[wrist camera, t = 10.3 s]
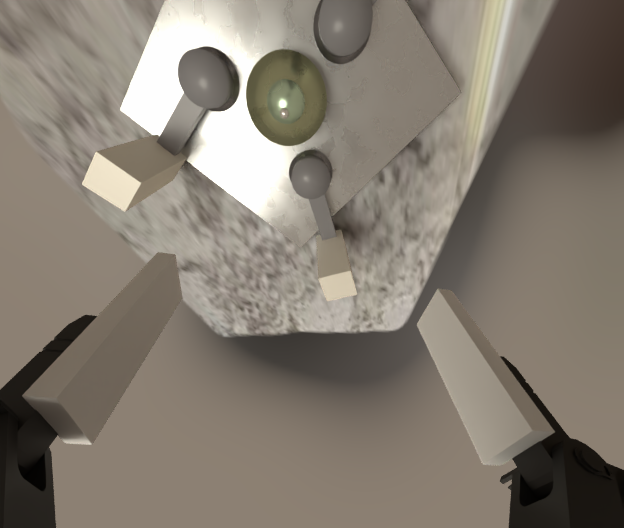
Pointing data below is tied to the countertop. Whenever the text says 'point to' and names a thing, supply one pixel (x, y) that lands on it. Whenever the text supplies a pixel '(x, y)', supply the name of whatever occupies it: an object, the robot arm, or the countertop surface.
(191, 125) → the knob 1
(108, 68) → the countertop surface
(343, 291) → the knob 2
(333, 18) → the gray lever with block
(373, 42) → the level plate
